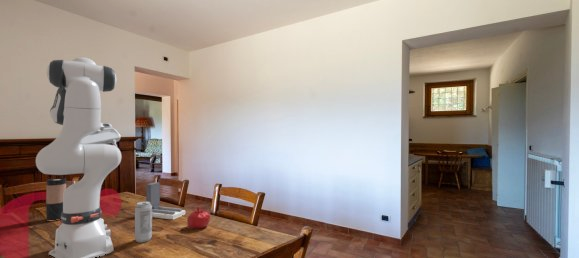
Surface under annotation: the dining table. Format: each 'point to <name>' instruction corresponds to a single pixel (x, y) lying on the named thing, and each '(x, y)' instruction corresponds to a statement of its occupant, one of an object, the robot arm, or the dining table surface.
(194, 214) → the pomegranate
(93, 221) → the robot arm
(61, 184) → the travel mug
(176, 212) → the fader board
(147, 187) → the fader tab
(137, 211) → the energy drink can
